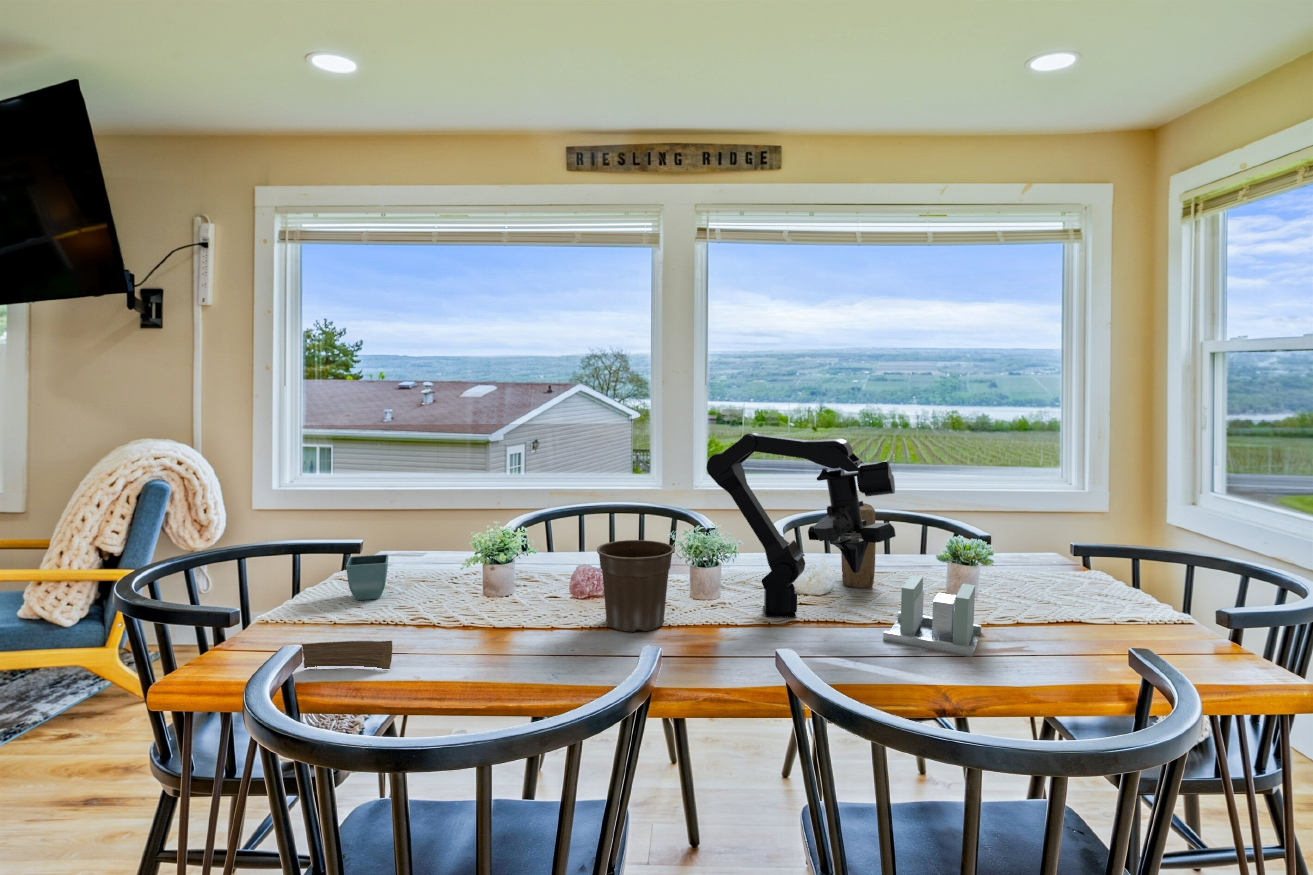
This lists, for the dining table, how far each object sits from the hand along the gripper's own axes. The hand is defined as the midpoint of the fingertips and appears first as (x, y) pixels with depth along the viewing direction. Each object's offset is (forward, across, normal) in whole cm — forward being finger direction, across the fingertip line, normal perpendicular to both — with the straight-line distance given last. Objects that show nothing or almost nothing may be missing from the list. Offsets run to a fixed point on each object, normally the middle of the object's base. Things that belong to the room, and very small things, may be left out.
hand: (856, 572), depth 149 cm
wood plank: (-3, -38, -92) cm, 100 cm away
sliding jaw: (+12, +10, +2) cm, 15 cm away
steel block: (+13, +15, +5) cm, 21 cm away
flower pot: (-8, -79, -78) cm, 111 cm away
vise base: (+14, +13, +4) cm, 19 cm away
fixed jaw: (+14, +18, +6) cm, 24 cm away
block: (+10, -21, +23) cm, 33 cm away
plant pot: (+3, -29, -38) cm, 48 cm away
